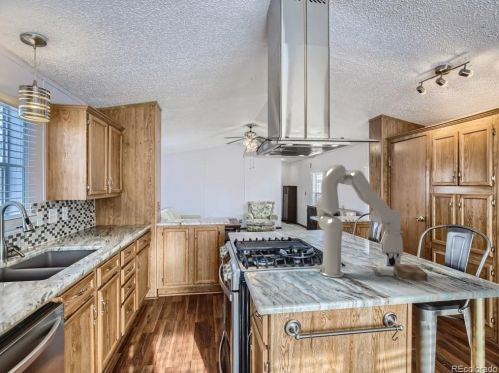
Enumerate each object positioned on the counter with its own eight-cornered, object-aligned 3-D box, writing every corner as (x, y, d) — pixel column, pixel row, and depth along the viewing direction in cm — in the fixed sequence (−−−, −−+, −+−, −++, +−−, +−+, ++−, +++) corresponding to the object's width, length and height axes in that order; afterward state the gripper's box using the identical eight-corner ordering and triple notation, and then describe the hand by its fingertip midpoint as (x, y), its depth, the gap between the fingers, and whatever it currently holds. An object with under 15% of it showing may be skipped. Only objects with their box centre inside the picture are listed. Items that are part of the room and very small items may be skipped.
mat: (377, 276, 149) (377, 275, 149) (371, 268, 162) (371, 268, 162) (399, 278, 146) (399, 277, 146) (392, 270, 160) (392, 269, 160)
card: (393, 271, 149) (393, 275, 149) (389, 266, 158) (389, 270, 158) (381, 270, 151) (381, 274, 151) (378, 265, 159) (377, 269, 159)
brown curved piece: (401, 279, 145) (402, 271, 145) (393, 270, 160) (393, 263, 160) (427, 281, 142) (427, 273, 142) (416, 272, 158) (416, 265, 158)
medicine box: (386, 266, 168) (386, 252, 168) (384, 264, 173) (384, 250, 173) (400, 267, 167) (400, 253, 166) (398, 265, 171) (398, 251, 171)
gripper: (405, 232, 155) (404, 264, 155) (376, 230, 159) (375, 262, 159) (409, 234, 148) (408, 268, 148) (379, 232, 151) (378, 265, 151)
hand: (391, 265), depth 153 cm, fingers closed
